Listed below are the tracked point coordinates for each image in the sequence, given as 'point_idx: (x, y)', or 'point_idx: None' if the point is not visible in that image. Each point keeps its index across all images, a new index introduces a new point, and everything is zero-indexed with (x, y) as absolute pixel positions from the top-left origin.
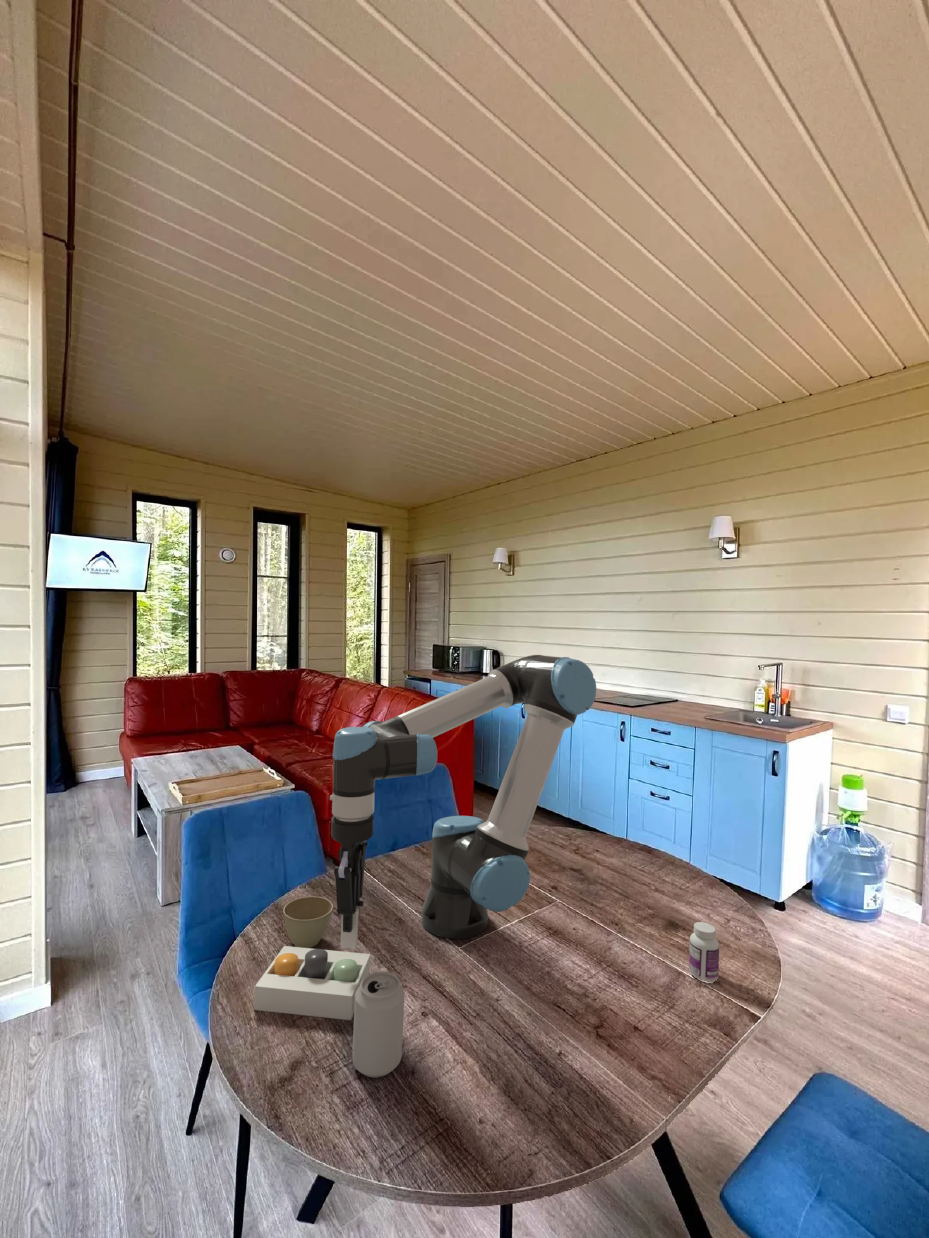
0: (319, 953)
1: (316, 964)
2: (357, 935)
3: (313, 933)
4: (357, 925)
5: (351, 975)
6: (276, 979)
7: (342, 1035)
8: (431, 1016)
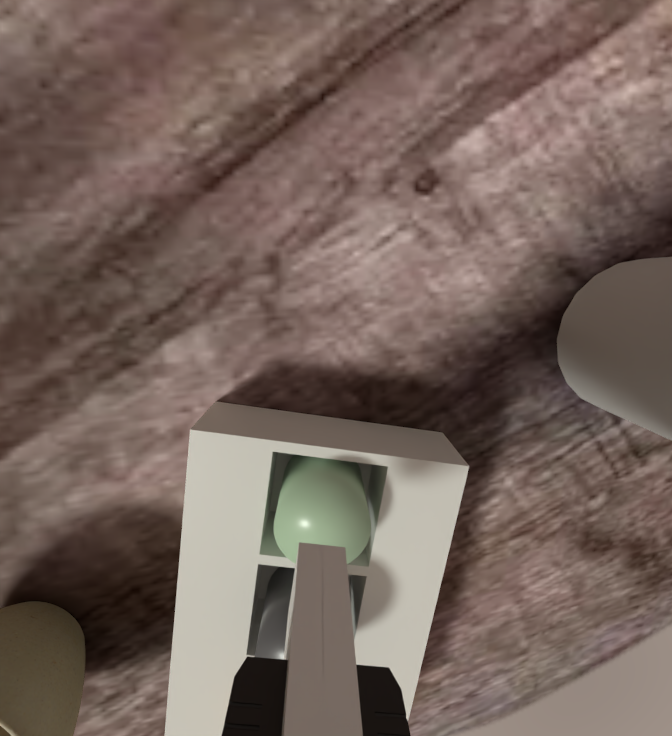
0: None
1: None
2: (302, 580)
3: (60, 670)
4: (307, 643)
5: (358, 488)
6: None
7: (503, 446)
8: (440, 154)
